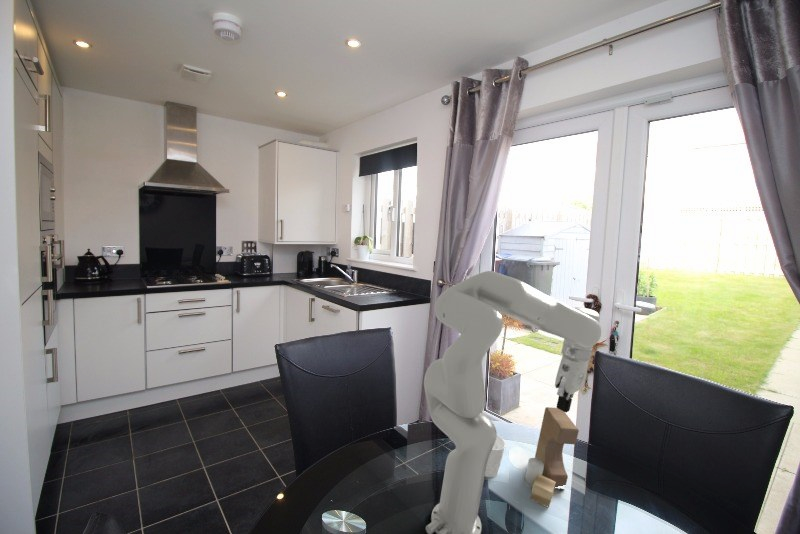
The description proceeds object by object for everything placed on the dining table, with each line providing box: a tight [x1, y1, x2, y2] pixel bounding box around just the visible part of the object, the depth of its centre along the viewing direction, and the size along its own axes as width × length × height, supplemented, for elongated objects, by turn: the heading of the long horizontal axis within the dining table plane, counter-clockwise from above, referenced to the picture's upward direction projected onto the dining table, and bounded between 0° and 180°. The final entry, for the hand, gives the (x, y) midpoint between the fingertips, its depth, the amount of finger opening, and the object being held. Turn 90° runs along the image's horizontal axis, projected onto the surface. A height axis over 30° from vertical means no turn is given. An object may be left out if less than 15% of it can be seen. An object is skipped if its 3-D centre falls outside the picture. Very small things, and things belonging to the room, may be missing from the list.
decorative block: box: [534, 406, 580, 487], centre depth 117 cm, size 11×6×20 cm, turn 2°
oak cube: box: [530, 474, 556, 508], centre depth 110 cm, size 5×5×5 cm
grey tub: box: [524, 457, 544, 486], centre depth 116 cm, size 4×4×6 cm
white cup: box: [484, 434, 506, 478], centre depth 118 cm, size 8×8×10 cm
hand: (562, 409), depth 114 cm, fingers closed
